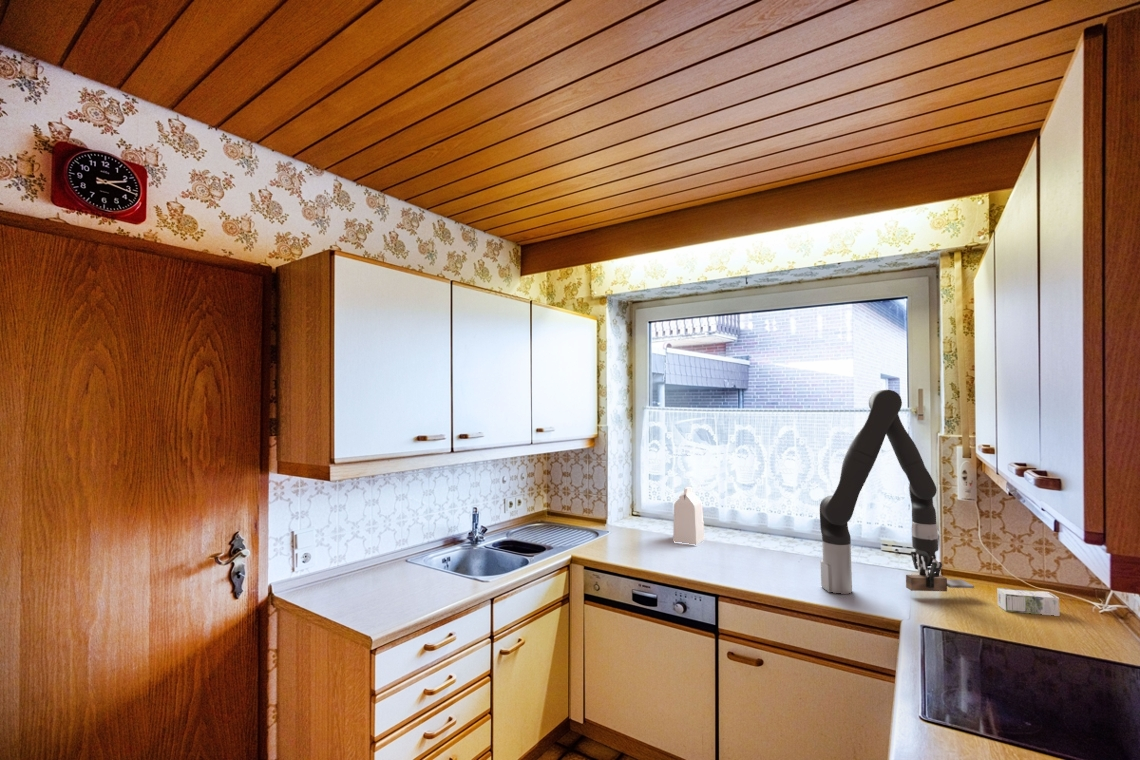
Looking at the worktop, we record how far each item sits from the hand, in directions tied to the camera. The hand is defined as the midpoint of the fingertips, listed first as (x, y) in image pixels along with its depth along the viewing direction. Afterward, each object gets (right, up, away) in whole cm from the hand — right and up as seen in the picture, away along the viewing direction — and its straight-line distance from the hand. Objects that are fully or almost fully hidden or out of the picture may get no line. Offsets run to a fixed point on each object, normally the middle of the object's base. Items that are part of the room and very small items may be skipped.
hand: (927, 585), depth 183 cm
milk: (-66, -7, +73) cm, 99 cm away
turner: (+4, -1, 0) cm, 4 cm away
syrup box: (+17, -1, -10) cm, 20 cm away
